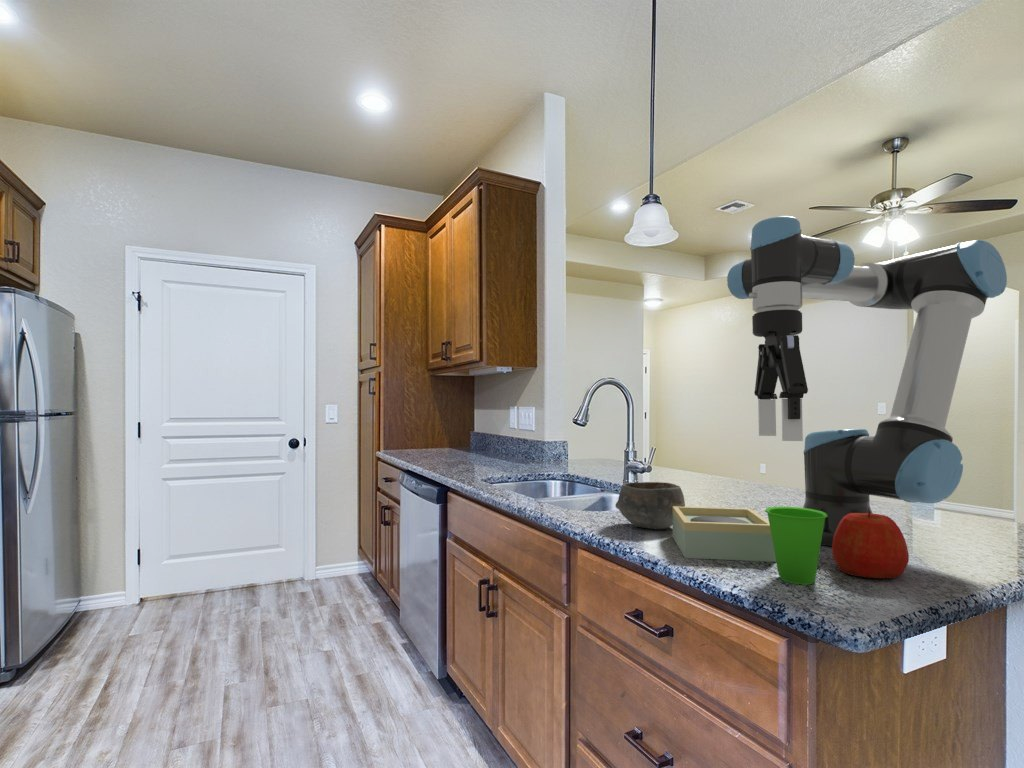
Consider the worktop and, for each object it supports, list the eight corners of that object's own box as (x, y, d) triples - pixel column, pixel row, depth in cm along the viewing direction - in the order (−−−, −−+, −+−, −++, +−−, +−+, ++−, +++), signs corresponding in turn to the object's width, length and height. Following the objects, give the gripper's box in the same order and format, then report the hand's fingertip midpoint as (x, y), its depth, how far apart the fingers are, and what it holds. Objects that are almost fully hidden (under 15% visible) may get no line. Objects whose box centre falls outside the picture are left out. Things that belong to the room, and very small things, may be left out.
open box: (751, 539, 113) (750, 508, 113) (776, 561, 97) (775, 525, 97) (672, 536, 115) (672, 506, 116) (684, 557, 99) (684, 522, 100)
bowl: (693, 535, 117) (692, 489, 117) (622, 535, 117) (622, 488, 117) (674, 521, 131) (674, 480, 131) (611, 521, 131) (611, 479, 131)
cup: (838, 591, 82) (837, 518, 82) (774, 587, 84) (773, 516, 84) (817, 573, 91) (816, 507, 91) (759, 569, 92) (758, 505, 93)
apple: (881, 589, 83) (879, 519, 83) (816, 569, 93) (815, 507, 93) (923, 580, 87) (922, 514, 88) (857, 562, 97) (856, 503, 98)
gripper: (736, 323, 103) (738, 433, 102) (774, 298, 79) (777, 443, 78) (778, 322, 102) (780, 434, 101) (830, 296, 77) (833, 443, 76)
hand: (779, 438), depth 89 cm, fingers open, 13 cm apart
